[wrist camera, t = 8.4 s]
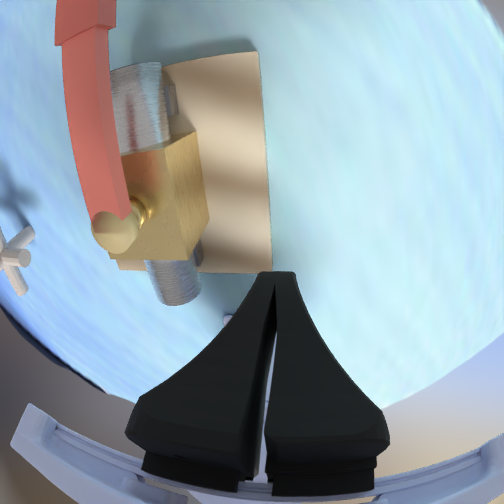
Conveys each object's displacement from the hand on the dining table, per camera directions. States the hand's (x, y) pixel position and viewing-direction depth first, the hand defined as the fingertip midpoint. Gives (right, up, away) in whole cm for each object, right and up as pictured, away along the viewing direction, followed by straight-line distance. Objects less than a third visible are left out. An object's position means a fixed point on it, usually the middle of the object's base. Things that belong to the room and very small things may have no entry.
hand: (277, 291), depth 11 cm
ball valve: (-7, +7, +8) cm, 13 cm away
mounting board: (-7, +7, +8) cm, 13 cm away
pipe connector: (-27, +4, +14) cm, 31 cm away
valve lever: (-8, +9, -1) cm, 12 cm away
